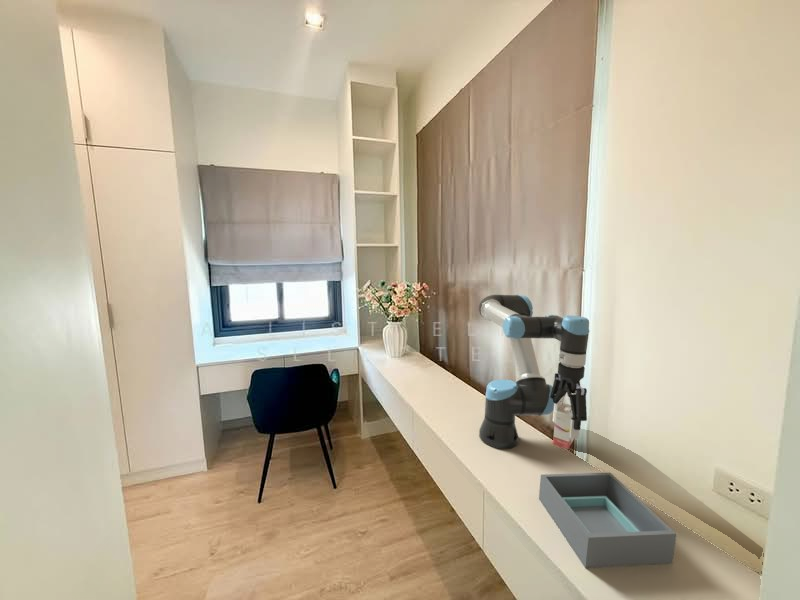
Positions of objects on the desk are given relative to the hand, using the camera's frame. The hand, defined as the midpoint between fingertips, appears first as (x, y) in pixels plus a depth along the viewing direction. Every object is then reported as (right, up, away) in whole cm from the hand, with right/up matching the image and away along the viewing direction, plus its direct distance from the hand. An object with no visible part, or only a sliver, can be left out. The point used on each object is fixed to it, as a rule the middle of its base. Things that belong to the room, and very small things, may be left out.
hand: (564, 429), depth 107 cm
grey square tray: (-1, -19, -19) cm, 27 cm away
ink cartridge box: (0, -5, +1) cm, 5 cm away
